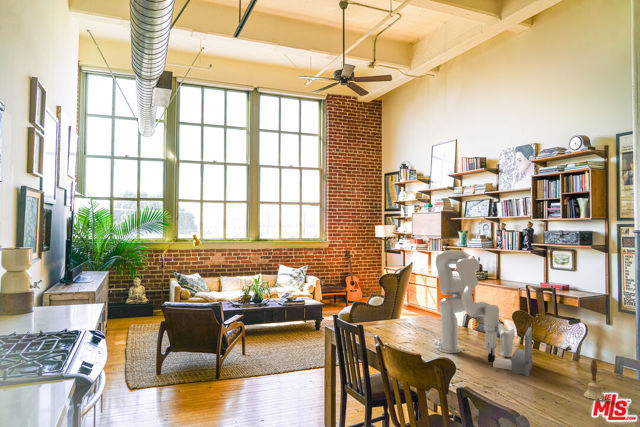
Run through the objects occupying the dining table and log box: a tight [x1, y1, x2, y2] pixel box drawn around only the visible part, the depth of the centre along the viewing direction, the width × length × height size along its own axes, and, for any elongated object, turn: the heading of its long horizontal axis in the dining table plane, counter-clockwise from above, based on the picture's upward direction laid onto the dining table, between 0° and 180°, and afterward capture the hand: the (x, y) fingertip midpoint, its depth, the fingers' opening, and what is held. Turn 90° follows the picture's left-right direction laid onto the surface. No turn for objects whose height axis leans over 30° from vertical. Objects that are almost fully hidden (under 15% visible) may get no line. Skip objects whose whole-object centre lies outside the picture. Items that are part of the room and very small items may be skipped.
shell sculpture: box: [498, 323, 516, 358], centre depth 244 cm, size 8×8×18 cm
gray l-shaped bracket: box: [510, 326, 533, 378], centre depth 222 cm, size 8×21×20 cm, turn 149°
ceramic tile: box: [492, 357, 512, 371], centre depth 226 cm, size 16×10×2 cm, turn 59°
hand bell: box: [583, 359, 606, 400], centre depth 185 cm, size 8×8×16 cm
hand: (491, 362), depth 230 cm, fingers closed
